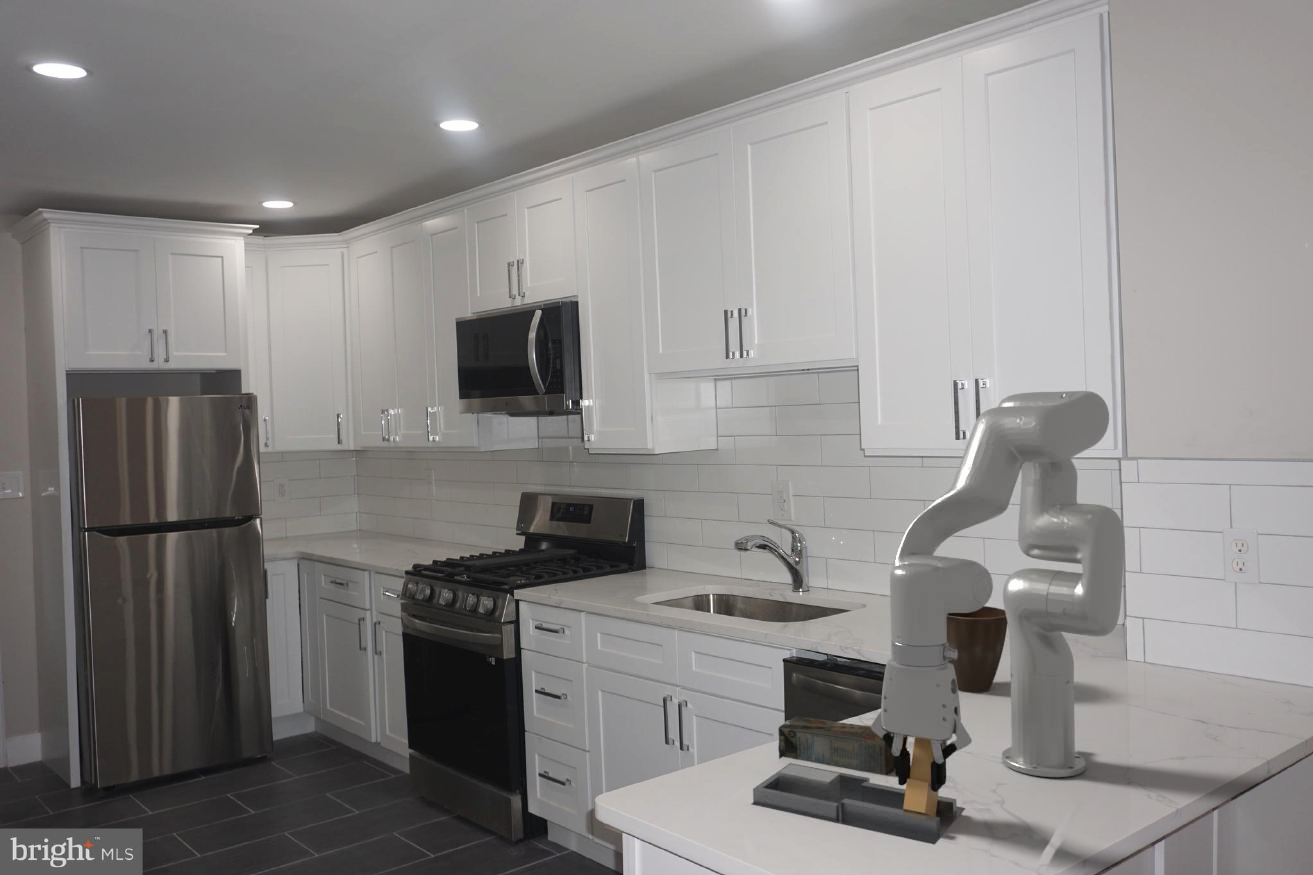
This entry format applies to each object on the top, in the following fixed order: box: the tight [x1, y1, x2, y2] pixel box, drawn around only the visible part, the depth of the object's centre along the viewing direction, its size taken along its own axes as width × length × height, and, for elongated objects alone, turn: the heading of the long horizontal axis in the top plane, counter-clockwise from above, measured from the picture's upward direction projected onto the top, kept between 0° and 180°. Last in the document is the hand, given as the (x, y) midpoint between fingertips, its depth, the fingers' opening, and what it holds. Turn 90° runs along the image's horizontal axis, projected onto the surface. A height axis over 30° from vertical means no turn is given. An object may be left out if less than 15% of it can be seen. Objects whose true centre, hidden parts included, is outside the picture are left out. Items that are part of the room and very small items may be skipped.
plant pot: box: [947, 605, 1008, 693], centre depth 207 cm, size 15×15×16 cm
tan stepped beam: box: [903, 737, 940, 817], centre depth 140 cm, size 5×3×12 cm, turn 147°
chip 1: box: [779, 763, 815, 796], centre depth 149 cm, size 4×4×4 cm
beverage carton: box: [777, 715, 895, 776], centre depth 164 cm, size 8×19×7 cm, turn 58°
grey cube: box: [803, 769, 841, 803], centre depth 146 cm, size 4×4×4 cm
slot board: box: [751, 762, 966, 845], centre depth 143 cm, size 14×27×3 cm, turn 57°
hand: (920, 784), depth 138 cm, fingers open, 4 cm apart
